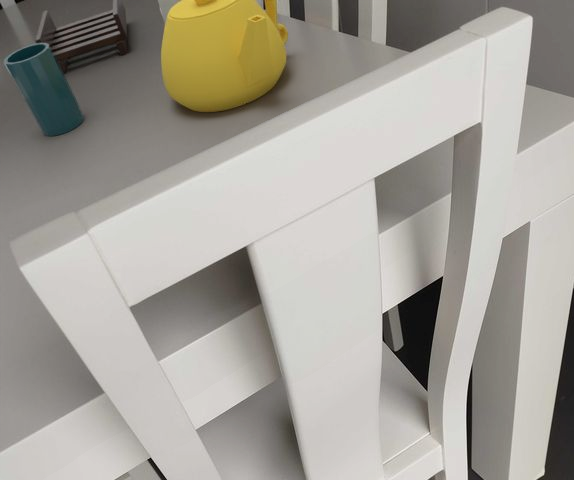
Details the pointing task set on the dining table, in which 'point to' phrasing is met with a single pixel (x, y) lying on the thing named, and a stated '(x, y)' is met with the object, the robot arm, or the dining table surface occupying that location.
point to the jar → (166, 7)
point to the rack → (84, 34)
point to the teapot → (221, 52)
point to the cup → (44, 88)
